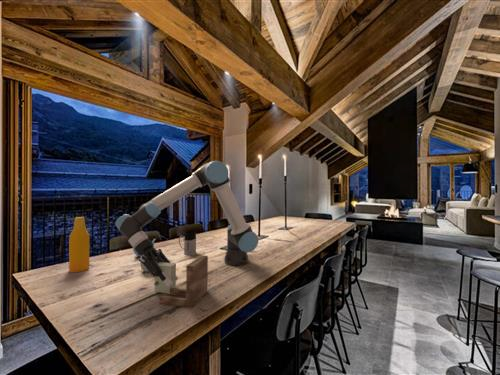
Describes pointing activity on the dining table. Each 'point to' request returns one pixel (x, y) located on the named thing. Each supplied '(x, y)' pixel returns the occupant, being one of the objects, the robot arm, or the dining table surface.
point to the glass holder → (189, 243)
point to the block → (170, 272)
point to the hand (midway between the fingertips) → (173, 282)
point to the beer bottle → (79, 247)
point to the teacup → (144, 267)
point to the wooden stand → (190, 285)
